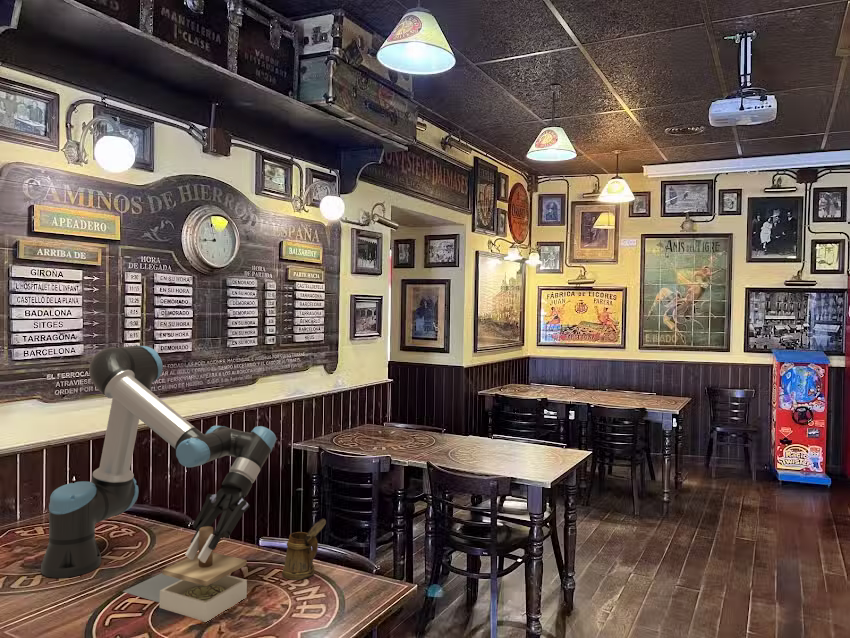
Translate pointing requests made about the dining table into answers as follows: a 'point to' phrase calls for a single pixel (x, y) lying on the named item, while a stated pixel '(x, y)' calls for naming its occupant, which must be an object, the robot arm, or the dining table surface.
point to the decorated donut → (204, 592)
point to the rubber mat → (152, 587)
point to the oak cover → (204, 564)
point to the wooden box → (198, 608)
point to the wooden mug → (302, 553)
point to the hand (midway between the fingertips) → (195, 558)
